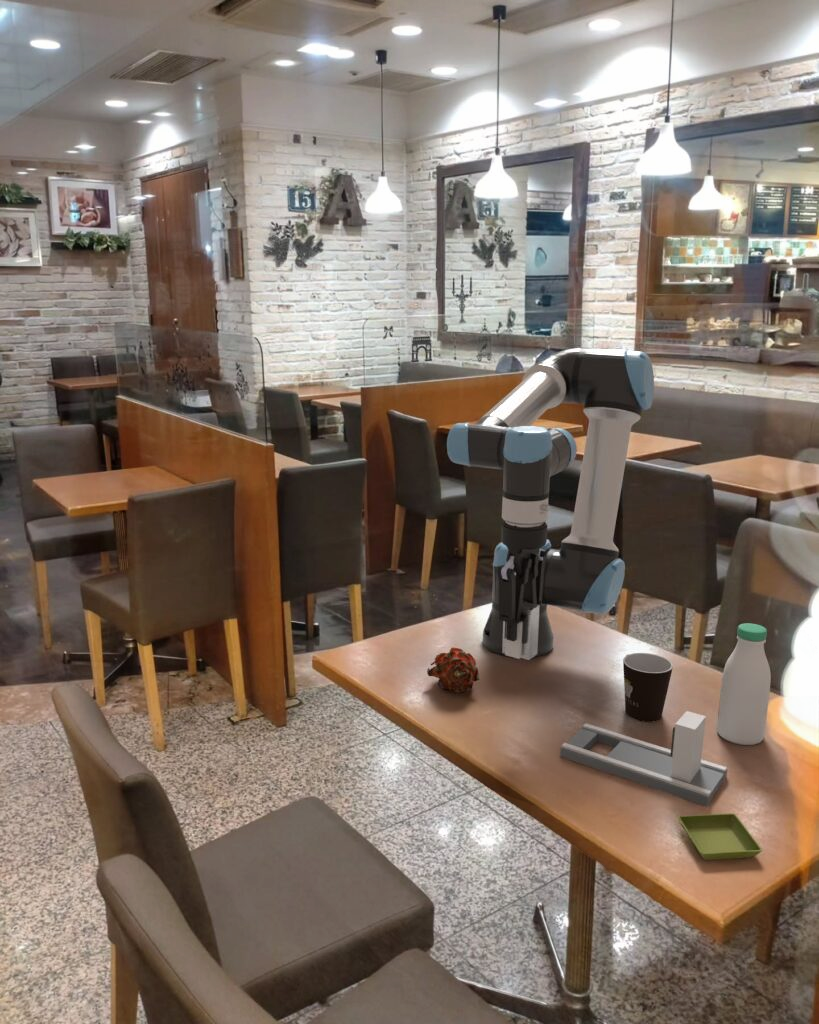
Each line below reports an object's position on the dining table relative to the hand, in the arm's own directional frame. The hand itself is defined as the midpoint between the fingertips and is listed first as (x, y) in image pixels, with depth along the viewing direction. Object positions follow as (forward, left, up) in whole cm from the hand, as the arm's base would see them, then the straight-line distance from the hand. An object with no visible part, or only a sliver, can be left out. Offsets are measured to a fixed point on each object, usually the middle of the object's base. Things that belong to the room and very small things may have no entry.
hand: (519, 651), depth 151 cm
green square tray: (+13, +39, -14) cm, 44 cm away
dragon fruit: (-6, -17, -14) cm, 23 cm away
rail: (0, +23, -14) cm, 27 cm away
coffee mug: (-19, +16, -14) cm, 29 cm away
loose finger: (0, 0, 0) cm, 0 cm away
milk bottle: (-20, +33, -14) cm, 41 cm away
